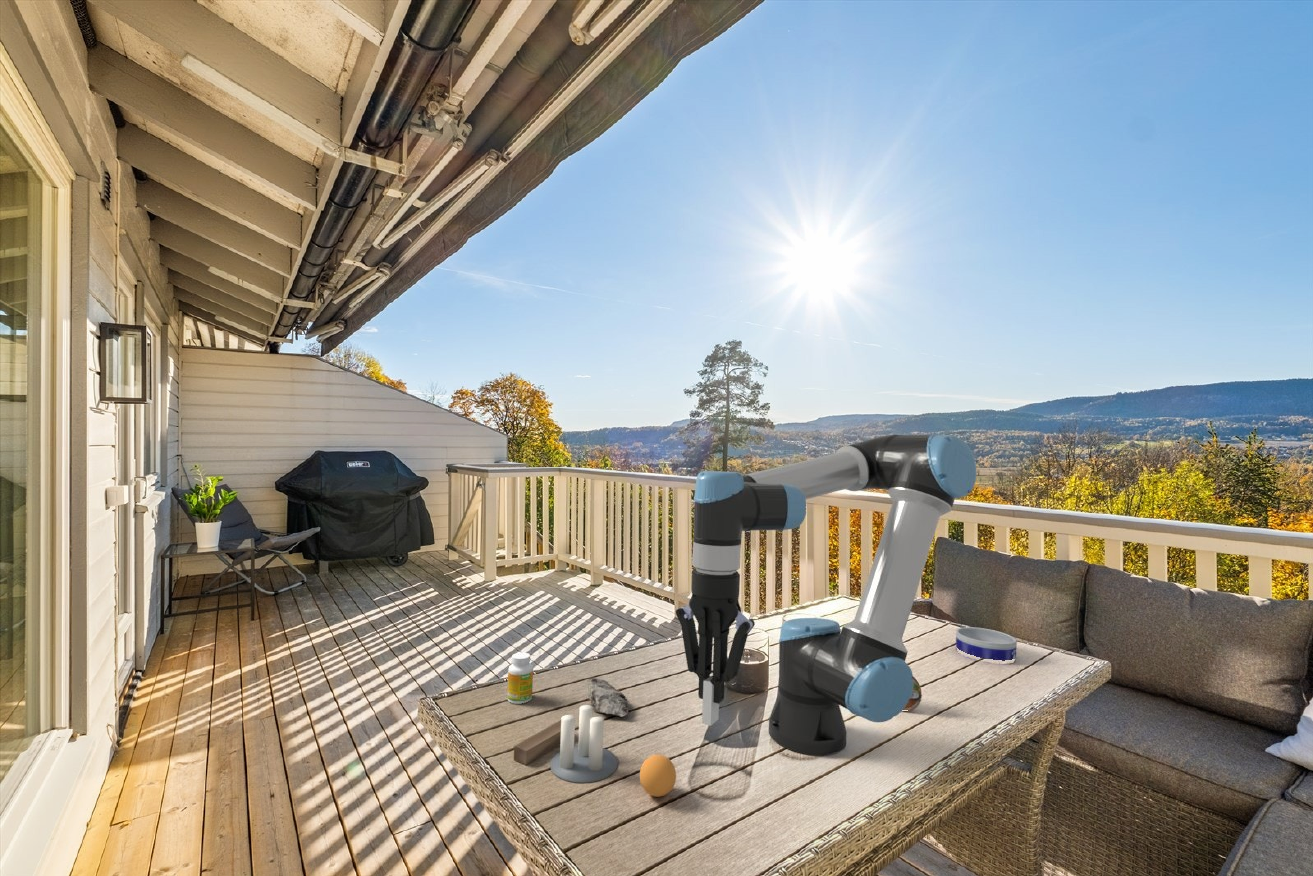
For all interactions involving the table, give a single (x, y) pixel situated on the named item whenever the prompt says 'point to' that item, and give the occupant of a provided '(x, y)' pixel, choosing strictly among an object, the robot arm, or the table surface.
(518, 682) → the supplement bottle
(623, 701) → the mineral rock
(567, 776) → the pin disc
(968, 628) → the dog bowl
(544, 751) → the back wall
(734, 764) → the table surface
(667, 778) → the ball
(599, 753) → the front pin
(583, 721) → the pin
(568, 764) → the pin
